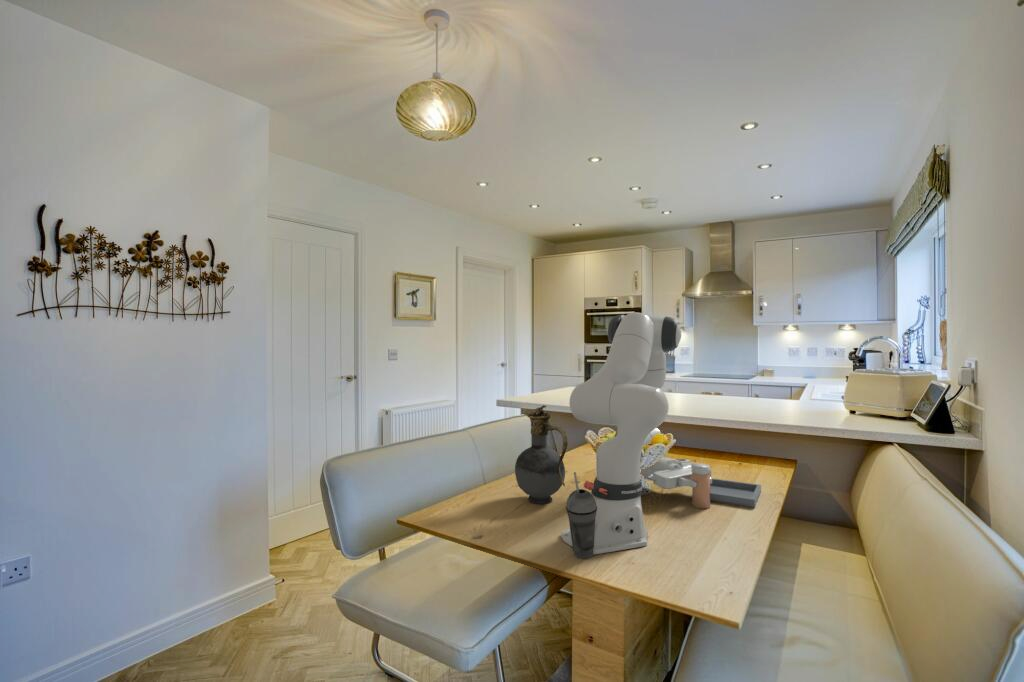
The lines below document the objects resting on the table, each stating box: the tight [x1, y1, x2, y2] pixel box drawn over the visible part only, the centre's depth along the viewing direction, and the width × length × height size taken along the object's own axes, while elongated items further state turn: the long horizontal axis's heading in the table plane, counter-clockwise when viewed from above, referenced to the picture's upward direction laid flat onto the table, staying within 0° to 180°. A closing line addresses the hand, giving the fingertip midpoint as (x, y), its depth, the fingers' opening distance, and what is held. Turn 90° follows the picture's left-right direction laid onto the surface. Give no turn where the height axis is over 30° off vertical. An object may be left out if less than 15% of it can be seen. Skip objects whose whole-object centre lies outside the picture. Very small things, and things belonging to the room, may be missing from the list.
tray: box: [710, 477, 762, 509], centre depth 156 cm, size 17×17×2 cm
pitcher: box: [514, 404, 569, 505], centre depth 152 cm, size 11×19×30 cm, turn 43°
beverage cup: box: [565, 471, 597, 560], centre depth 113 cm, size 7×7×20 cm
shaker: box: [691, 462, 711, 509], centre depth 146 cm, size 5×5×12 cm
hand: (703, 482), depth 146 cm, fingers closed on shaker, 5 cm apart
